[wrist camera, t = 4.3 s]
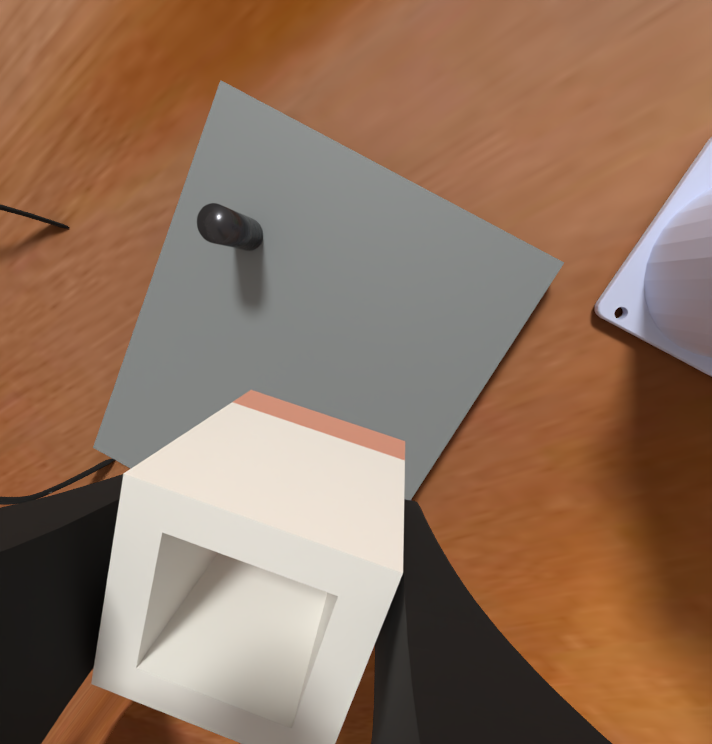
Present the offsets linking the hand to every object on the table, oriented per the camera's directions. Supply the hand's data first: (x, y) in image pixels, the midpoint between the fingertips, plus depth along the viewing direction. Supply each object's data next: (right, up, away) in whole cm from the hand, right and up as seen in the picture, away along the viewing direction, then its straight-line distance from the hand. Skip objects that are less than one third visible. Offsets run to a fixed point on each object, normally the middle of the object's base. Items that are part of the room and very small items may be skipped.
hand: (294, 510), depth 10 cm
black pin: (-3, +10, +7) cm, 12 cm away
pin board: (-1, +4, +9) cm, 10 cm away
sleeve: (0, 0, +1) cm, 1 cm away
